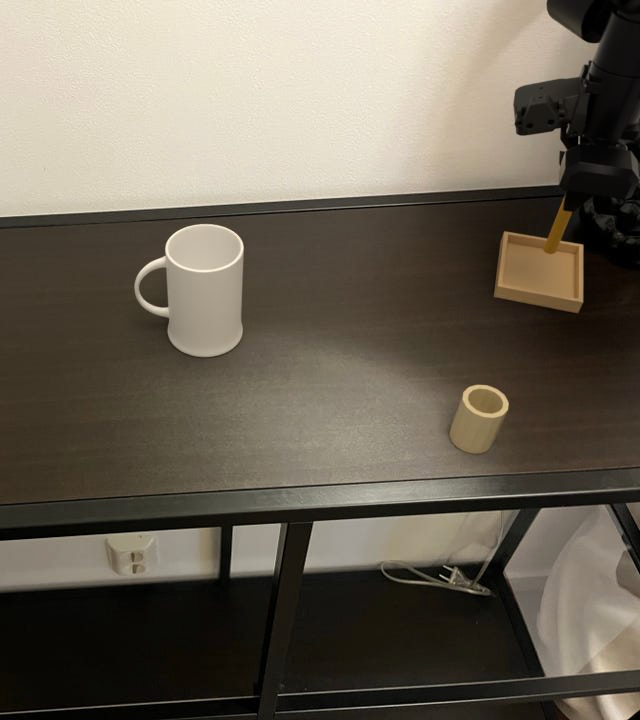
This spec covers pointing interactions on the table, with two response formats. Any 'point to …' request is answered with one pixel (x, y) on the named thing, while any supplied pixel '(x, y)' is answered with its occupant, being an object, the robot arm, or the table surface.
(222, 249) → the mug
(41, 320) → the table surface
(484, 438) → the pencil cup
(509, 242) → the tray
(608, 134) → the robot arm
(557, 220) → the pencil
